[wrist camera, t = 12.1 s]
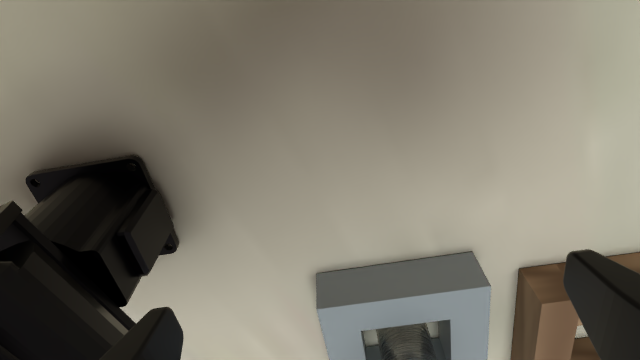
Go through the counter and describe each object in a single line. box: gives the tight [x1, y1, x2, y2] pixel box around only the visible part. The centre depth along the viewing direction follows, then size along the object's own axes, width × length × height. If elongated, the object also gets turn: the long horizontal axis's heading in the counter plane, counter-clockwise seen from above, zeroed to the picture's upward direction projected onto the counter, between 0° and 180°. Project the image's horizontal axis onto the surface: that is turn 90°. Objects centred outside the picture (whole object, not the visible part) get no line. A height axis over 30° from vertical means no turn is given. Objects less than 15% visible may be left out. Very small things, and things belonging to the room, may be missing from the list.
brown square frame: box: [511, 252, 640, 360], centre depth 27 cm, size 10×10×3 cm
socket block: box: [316, 252, 491, 360], centre depth 27 cm, size 10×10×3 cm
